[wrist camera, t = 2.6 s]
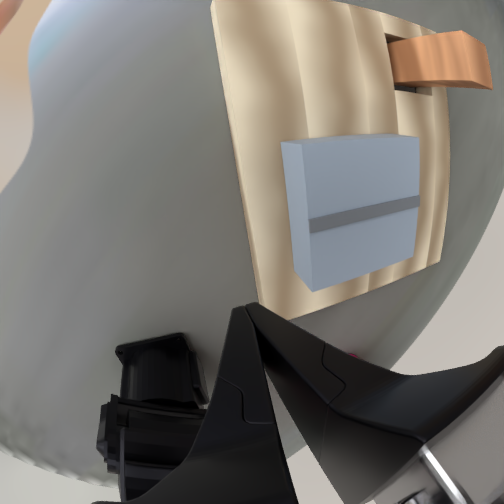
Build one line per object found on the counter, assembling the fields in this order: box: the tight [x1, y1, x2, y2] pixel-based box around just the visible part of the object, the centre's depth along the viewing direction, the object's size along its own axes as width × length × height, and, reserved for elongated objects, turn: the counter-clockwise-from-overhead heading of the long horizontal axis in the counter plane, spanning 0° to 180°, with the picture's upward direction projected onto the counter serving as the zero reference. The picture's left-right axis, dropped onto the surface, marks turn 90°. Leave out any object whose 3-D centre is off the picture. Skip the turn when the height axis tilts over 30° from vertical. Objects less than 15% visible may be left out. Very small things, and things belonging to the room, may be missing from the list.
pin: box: [387, 31, 493, 90], centre depth 13 cm, size 4×4×9 cm
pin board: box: [210, 0, 450, 320], centre depth 19 cm, size 20×24×2 cm
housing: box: [280, 134, 420, 292], centre depth 17 cm, size 9×9×3 cm
